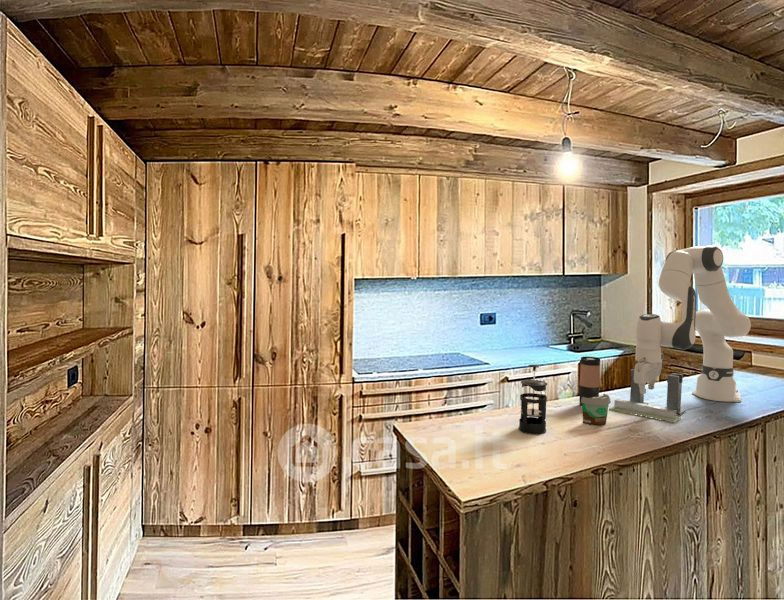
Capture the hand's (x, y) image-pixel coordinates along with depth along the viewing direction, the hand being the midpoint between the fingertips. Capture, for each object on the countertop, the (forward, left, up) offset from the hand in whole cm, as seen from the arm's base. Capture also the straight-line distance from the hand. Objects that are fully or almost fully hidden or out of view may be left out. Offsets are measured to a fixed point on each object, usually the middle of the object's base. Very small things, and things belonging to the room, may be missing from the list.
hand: (646, 391), depth 202 cm
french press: (+50, -21, -9) cm, 55 cm away
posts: (-12, -1, -9) cm, 15 cm away
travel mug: (+5, -21, -9) cm, 23 cm away
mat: (0, -1, -9) cm, 9 cm away
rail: (0, -1, -9) cm, 8 cm away
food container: (+26, -8, -9) cm, 29 cm away
